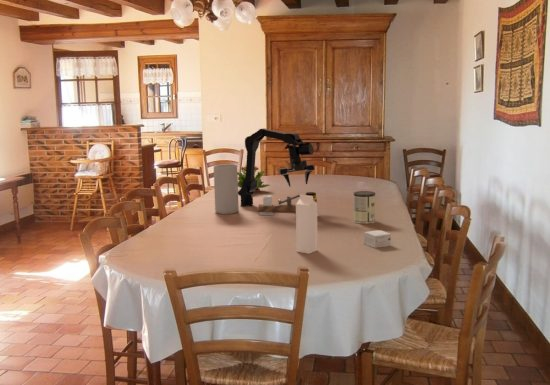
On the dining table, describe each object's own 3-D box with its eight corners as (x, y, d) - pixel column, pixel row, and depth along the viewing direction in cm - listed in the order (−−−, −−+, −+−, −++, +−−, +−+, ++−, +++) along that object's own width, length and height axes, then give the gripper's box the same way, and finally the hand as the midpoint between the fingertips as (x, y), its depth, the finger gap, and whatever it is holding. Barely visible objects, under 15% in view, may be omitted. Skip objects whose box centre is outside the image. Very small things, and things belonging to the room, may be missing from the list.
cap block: (263, 206, 286) (263, 196, 285) (263, 204, 290) (263, 195, 289) (272, 205, 286) (271, 196, 285) (271, 204, 290) (271, 195, 290)
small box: (374, 248, 210) (374, 235, 210) (363, 244, 218) (363, 231, 217) (390, 246, 214) (391, 233, 213) (379, 241, 221) (379, 229, 220)
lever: (279, 204, 287) (277, 200, 287) (278, 203, 289) (277, 199, 289) (299, 196, 287) (298, 192, 286) (299, 195, 289) (298, 191, 289)
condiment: (320, 216, 273) (320, 192, 271) (307, 218, 268) (306, 194, 266) (311, 213, 279) (311, 191, 277) (298, 215, 274) (298, 192, 272)
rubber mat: (259, 215, 276) (259, 214, 276) (259, 212, 283) (259, 212, 283) (273, 215, 276) (273, 214, 276) (272, 212, 283) (272, 211, 283)
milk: (304, 248, 212) (304, 193, 209) (317, 250, 209) (317, 194, 205) (296, 251, 207) (295, 195, 204) (309, 254, 204) (308, 197, 200)
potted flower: (278, 190, 358) (277, 164, 355) (258, 195, 338) (257, 167, 335) (247, 187, 371) (247, 162, 368) (227, 192, 351) (226, 166, 348)
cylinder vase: (242, 210, 290) (241, 164, 286) (231, 215, 279) (229, 167, 275) (222, 209, 295) (221, 164, 291) (210, 213, 284) (209, 166, 280)
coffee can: (355, 218, 265) (355, 190, 262) (376, 219, 261) (376, 191, 259) (351, 223, 255) (351, 194, 253) (373, 224, 252) (373, 194, 249)
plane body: (258, 212, 286) (258, 199, 284) (258, 209, 291) (258, 197, 290) (296, 211, 286) (295, 198, 285) (295, 209, 292) (295, 196, 291)
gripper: (280, 159, 276) (284, 188, 278) (315, 154, 279) (318, 184, 281) (276, 158, 287) (280, 187, 289) (310, 154, 290) (313, 182, 292)
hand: (298, 185), depth 287 cm, fingers open, 9 cm apart
